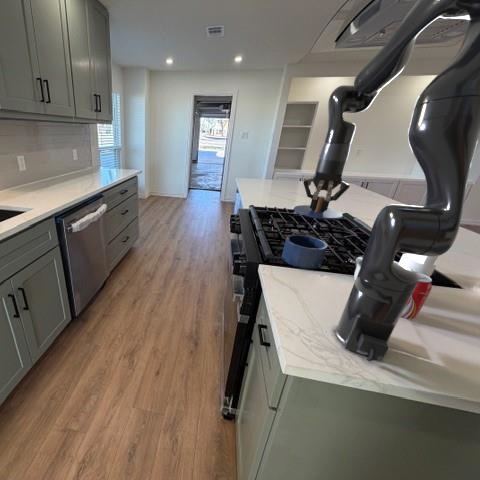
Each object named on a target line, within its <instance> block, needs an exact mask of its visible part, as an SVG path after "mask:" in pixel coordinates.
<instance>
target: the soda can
mask: <svg viewBox="0 0 480 480" xmlns="http://www.w3.org/2000/svg"><path fill="white" fill-rule="evenodd" d="M414 272H415V271H414ZM415 273H416V274H417V275H418V277H419V281H418V284H417V286H416V287H415V289H414V291H413V293H412V295H411V297H410V299H409V301H408V303H407V305H406V307H405V309H404V311H403V313H402V315H401V316H400V318H403V319H410V320H411V319H415V318H416V317H417V316H418V315H419V313H420V311H421V310H422V309H423V306H424V305H425V303H426V301H427V299H428V297H429V295H430V293H431V291H432V288H433V285H432V282H433V279H432V278H431V277H428V276H426V275H424V274H422V273H419V272H415Z"/></svg>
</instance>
